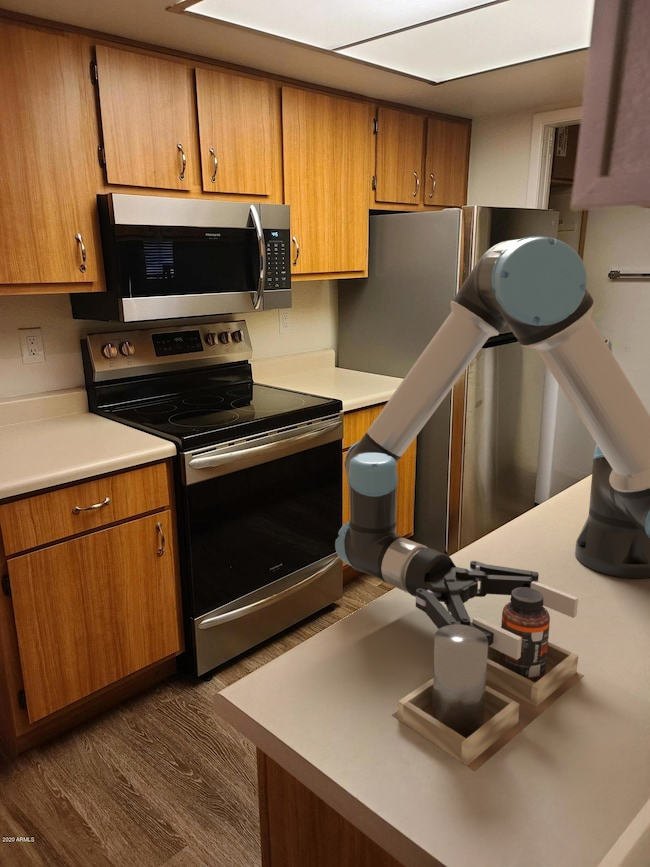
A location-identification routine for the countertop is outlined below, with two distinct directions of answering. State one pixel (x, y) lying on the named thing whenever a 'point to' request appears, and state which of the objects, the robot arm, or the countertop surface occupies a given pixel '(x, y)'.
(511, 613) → the supplement bottle
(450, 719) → the billet
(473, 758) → the wooden divided tray
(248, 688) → the countertop surface
